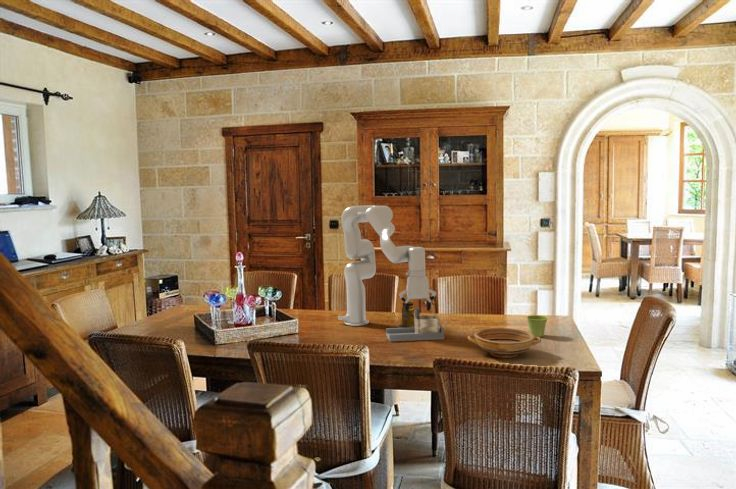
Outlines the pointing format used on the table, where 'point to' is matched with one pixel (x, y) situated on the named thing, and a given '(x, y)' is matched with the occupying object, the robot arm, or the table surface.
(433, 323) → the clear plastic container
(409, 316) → the condiment
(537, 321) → the plant pot
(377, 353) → the table surface
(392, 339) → the bay
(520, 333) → the ceramic bowl
